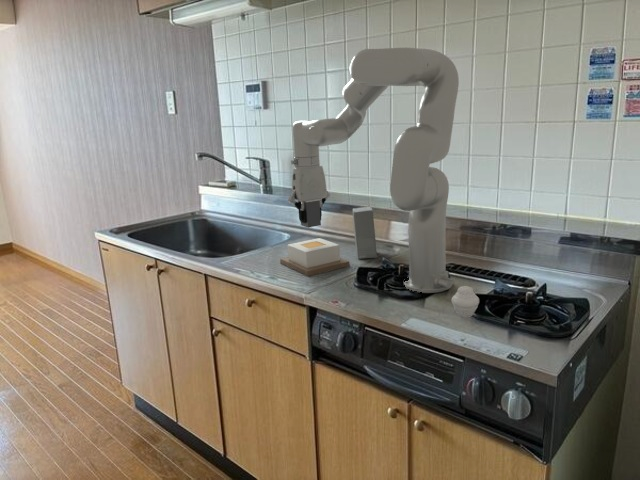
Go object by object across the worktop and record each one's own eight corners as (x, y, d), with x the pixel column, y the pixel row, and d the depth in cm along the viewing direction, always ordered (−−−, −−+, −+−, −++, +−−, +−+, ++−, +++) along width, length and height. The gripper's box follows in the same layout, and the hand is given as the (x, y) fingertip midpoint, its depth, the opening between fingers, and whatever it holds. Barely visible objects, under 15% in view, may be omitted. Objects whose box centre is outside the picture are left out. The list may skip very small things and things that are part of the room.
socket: (349, 265, 158) (348, 245, 157) (307, 276, 151) (306, 255, 149) (319, 254, 173) (318, 235, 172) (280, 262, 166) (278, 243, 164)
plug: (321, 225, 158) (319, 196, 156) (308, 227, 156) (306, 198, 154) (313, 222, 162) (311, 194, 160) (300, 225, 160) (298, 197, 158)
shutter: (325, 247, 160) (325, 245, 160) (309, 250, 157) (309, 248, 157) (316, 244, 164) (316, 241, 164) (301, 247, 162) (300, 245, 161)
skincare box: (377, 258, 164) (375, 210, 160) (355, 259, 164) (353, 211, 161) (375, 251, 172) (373, 205, 168) (354, 252, 173) (351, 206, 169)
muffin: (465, 307, 120) (465, 279, 119) (485, 315, 115) (485, 286, 113) (445, 313, 118) (445, 285, 116) (464, 322, 112) (464, 292, 111)
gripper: (288, 166, 147) (292, 227, 151) (337, 160, 155) (339, 218, 160) (276, 164, 153) (281, 223, 158) (324, 158, 161) (327, 215, 166)
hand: (310, 220), depth 159 cm, fingers closed on plug, 4 cm apart
